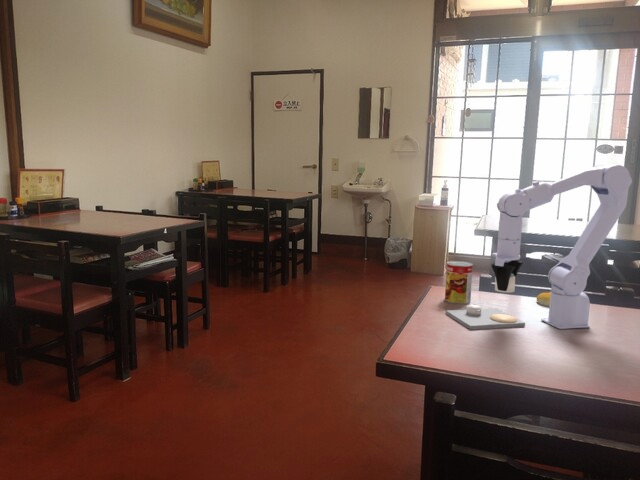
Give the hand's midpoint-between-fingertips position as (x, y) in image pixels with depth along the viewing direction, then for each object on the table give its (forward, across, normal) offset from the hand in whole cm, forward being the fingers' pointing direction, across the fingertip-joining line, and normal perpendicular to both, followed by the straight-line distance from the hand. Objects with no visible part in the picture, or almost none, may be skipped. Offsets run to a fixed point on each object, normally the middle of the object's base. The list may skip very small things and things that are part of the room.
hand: (505, 288), depth 134 cm
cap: (+1, 0, 0) cm, 1 cm away
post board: (+10, +1, -5) cm, 11 cm away
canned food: (+10, -14, -19) cm, 25 cm away
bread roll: (+10, -30, +6) cm, 32 cm away
